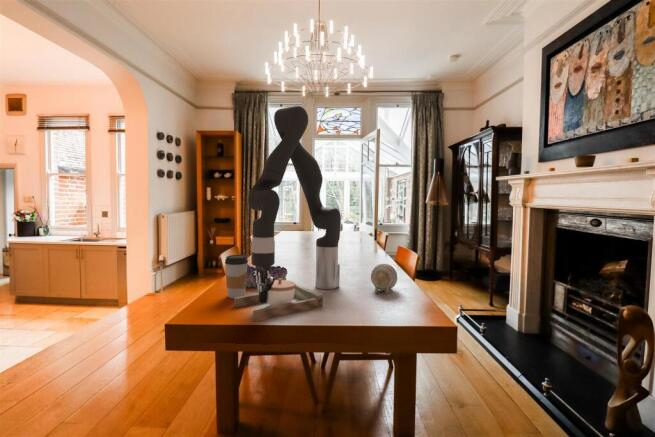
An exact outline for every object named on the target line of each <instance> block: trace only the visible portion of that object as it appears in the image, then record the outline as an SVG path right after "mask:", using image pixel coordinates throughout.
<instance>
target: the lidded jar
mask: <svg viewBox="0 0 655 437" xmlns="http://www.w3.org/2000/svg"><path fill="white" fill-rule="evenodd" d="M296 284H297V283H296V282H294V281H291V280H287V279H286V280H282V279H279V280H275V281H274V283H273V286H272V288H271V290H270V291H267V302H266V303H267V304H268V305H269V306H270V307H273V306H278V305H283V304H287V303H292V302H293V301H294V299H295V296H294V295H295V287H296Z"/></svg>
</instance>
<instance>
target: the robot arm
mask: <svg viewBox="0 0 655 437" xmlns="http://www.w3.org/2000/svg"><path fill="white" fill-rule="evenodd" d="M273 122H274V126H275V129H276V131H277V134H278V135H279V137H280V139H281V141H280V142H279V143H278V144H277V145H276V146H275V148H274V149H273V150H272V151H271V153H270V154H269V155H268V157H267V159H266V161H265V164H264V167H263V170H262V172H261V175H260V176H259V178H257V180H256V182H255V183H254V184H253V186H252V187H251V190H250V191H249V192H248V196H247V203H248V206H249V208H250V209H251V210H253V211H258V212H261V214H260V216H259V218H255V219H254V220H253V221H252V230H251V232H252V233H251V234H252V239H251V255H250V256H251V257H250V258H251V259H250V260H251V261H250V262H251V265H252V266H253V267H255V271H254V272H252V276H253V280H254V283H255V287H256V289H257V291H258V293H259V302H260V303H259V304H265V303H267V291H270V290H271V288H272V286H273V283H274V281H275V278H274V277H271V266H274V265H275V262H276V261H275V259H276V258H275V257H276V256H275V255H276V251H275V250H276V245H275V244H276V243H275V242H276V241H275V223H276V220H277V216H278V212H279V210H280V204H281V203H280V202H281V200H280V196H279V194H278V192H277V191H276V190H275V189H274V188H277V187H279V186H280V185H281V184H282V182H283V180H284V176H285V173H286V170H287V167H288V165H289V162H290V161H291V163H292V166H293V168H294V172H295V174H296V177H297V179H298V182H299V184H300V186H301V189H302V191H303V195H304V197H305V201H306V203H307V208H308V211H309V215H310V218H311V222H312V224H313V225H314V227H315V228H317V229H319V230H325V234H324V235H323V236H321V237H318V238H317V239H316V240H315V288H317V289H321V290H334V289H337V288H338V287H340V276H341V275H340V273H341V272H340V270H341V267H340V266H341V264H340V263H339V242H340V237H341V223H342V217H341V216H342V215H341V212H340V210H339V209H338V208H336V207H326V206H325V207H324V206H323V204H322V200H321V196H320V194H321V188H322V186H323V175H322V171H321V168H320V165H319V163H318V161H317V159H316V158H315V157H314V156H313V155H312V154H311V152H309V151H308V149H306V148H305V146H303V144H302V143H301V139H302V138H303V135H304V134H305V132H306V131H307V127H308V125H309V115H308V112H307V110H306V109H305V107H303V106H301V105H293V106H286V107H282V108H279V109H277V110H276V111H275V112H274V116H273Z"/></svg>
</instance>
